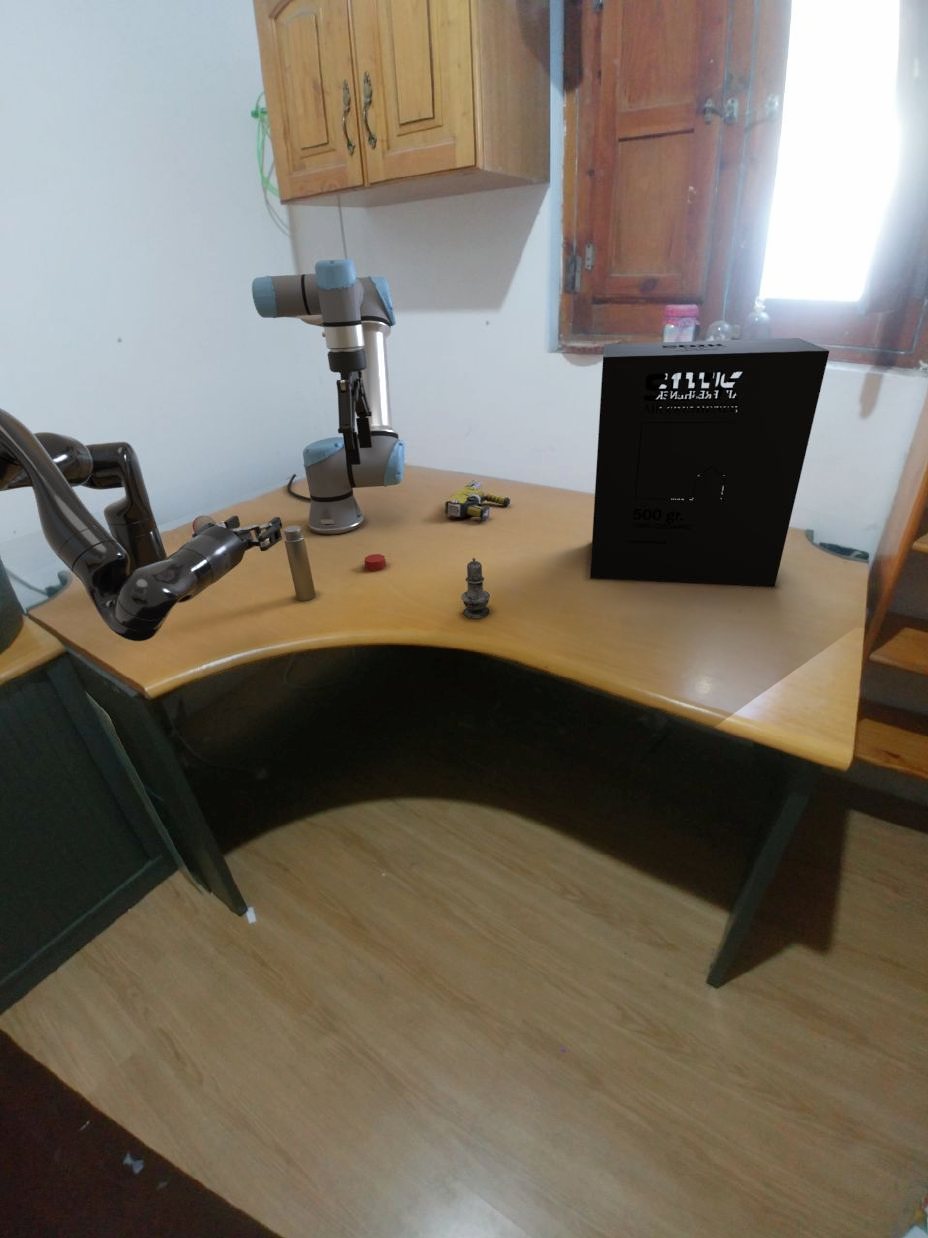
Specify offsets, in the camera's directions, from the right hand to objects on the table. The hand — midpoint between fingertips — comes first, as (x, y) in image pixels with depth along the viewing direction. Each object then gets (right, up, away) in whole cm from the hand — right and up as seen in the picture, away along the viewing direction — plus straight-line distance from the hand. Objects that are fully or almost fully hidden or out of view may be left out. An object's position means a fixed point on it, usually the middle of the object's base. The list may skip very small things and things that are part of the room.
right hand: (360, 455), depth 131 cm
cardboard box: (+71, -23, +6) cm, 75 cm away
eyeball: (-48, -13, +35) cm, 61 cm away
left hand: (-16, -17, -19) cm, 30 cm away
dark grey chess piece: (+25, -34, -9) cm, 43 cm away
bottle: (-12, -31, +1) cm, 33 cm away
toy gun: (+28, -3, +45) cm, 53 cm away
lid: (+1, -21, +12) cm, 25 cm away
